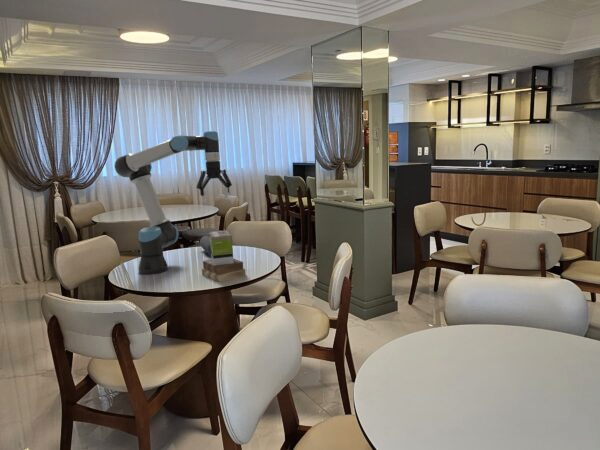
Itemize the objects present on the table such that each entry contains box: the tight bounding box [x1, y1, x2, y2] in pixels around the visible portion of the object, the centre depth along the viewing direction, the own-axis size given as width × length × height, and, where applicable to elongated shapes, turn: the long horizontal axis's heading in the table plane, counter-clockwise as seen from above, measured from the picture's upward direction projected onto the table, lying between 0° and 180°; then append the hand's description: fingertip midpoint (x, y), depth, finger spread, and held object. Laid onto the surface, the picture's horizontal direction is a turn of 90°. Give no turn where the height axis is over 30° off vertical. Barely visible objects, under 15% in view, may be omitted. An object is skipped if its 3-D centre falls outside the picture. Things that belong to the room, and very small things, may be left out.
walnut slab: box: [202, 257, 244, 275], centre depth 222 cm, size 17×14×4 cm
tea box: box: [209, 229, 234, 266], centre depth 220 cm, size 15×10×15 cm, turn 17°
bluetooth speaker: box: [199, 235, 211, 256], centre depth 271 cm, size 23×9×10 cm, turn 25°
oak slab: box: [201, 268, 246, 283], centre depth 223 cm, size 18×15×4 cm
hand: (215, 200), depth 234 cm, fingers open, 13 cm apart
